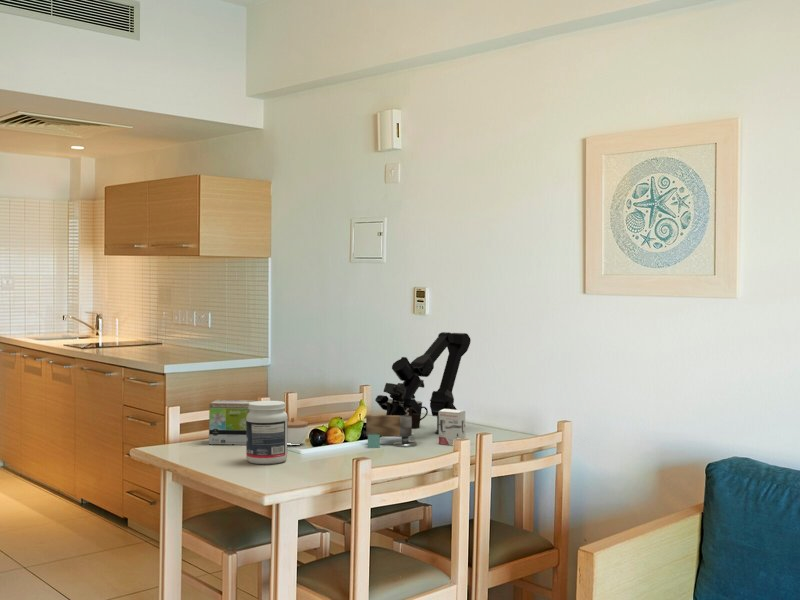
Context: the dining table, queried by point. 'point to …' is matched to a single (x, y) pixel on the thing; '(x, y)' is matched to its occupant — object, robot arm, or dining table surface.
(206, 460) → the dining table surface
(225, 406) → the tea box
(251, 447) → the supplement tub
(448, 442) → the ink box
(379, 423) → the brown rectangular block
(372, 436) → the stool pivot and socket
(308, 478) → the dining table surface
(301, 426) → the lidded jar
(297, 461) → the dining table surface
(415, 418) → the coffee mug
